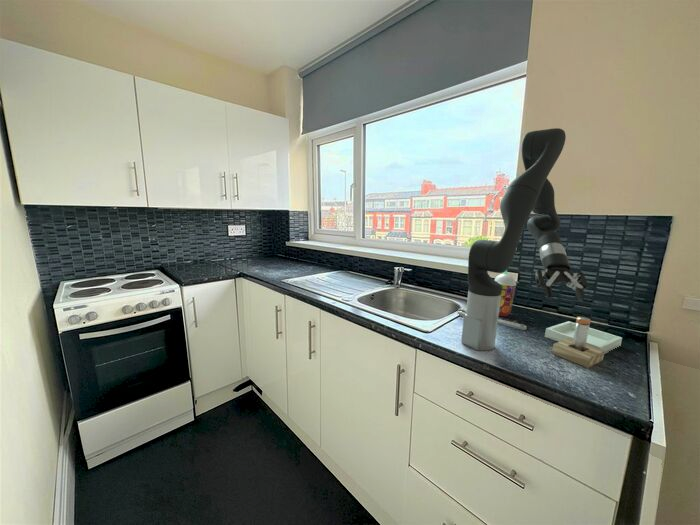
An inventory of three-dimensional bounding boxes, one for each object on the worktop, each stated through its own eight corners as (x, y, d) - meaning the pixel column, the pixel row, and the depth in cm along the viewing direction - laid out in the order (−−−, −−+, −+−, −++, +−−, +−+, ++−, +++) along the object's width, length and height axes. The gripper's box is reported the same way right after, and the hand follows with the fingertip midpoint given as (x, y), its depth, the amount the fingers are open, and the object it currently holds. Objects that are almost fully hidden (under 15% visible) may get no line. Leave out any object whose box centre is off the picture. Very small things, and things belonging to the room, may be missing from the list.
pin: (580, 360, 81) (587, 321, 79) (568, 355, 84) (574, 317, 82) (585, 358, 82) (592, 319, 80) (573, 353, 85) (580, 315, 83)
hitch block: (587, 368, 77) (589, 357, 77) (551, 353, 85) (553, 344, 84) (602, 360, 81) (604, 350, 81) (567, 347, 89) (568, 338, 89)
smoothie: (492, 309, 123) (498, 264, 119) (514, 313, 117) (520, 267, 114) (487, 314, 117) (492, 267, 113) (509, 319, 111) (516, 270, 108)
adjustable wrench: (527, 329, 103) (527, 325, 103) (522, 335, 99) (522, 330, 98) (460, 311, 120) (460, 307, 120) (453, 315, 116) (454, 311, 116)
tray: (598, 356, 83) (600, 347, 83) (544, 336, 96) (545, 328, 96) (620, 346, 90) (622, 337, 90) (567, 328, 103) (568, 321, 103)
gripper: (535, 251, 98) (546, 292, 89) (582, 253, 95) (598, 295, 86) (527, 263, 104) (536, 302, 95) (571, 265, 101) (584, 306, 92)
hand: (566, 299), depth 90 cm, fingers open, 8 cm apart
